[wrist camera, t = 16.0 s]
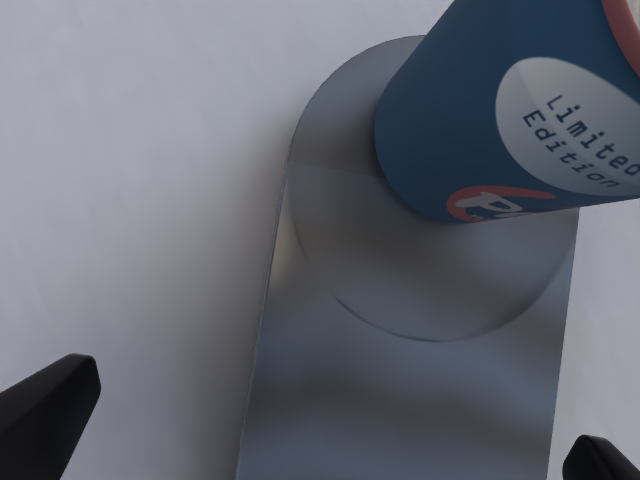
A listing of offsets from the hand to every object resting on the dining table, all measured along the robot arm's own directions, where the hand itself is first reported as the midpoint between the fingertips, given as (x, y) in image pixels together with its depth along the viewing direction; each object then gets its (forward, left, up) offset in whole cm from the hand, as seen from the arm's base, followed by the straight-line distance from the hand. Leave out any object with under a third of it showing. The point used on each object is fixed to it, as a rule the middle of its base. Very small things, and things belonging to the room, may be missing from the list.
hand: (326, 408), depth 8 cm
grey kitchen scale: (0, -5, -12) cm, 14 cm away
